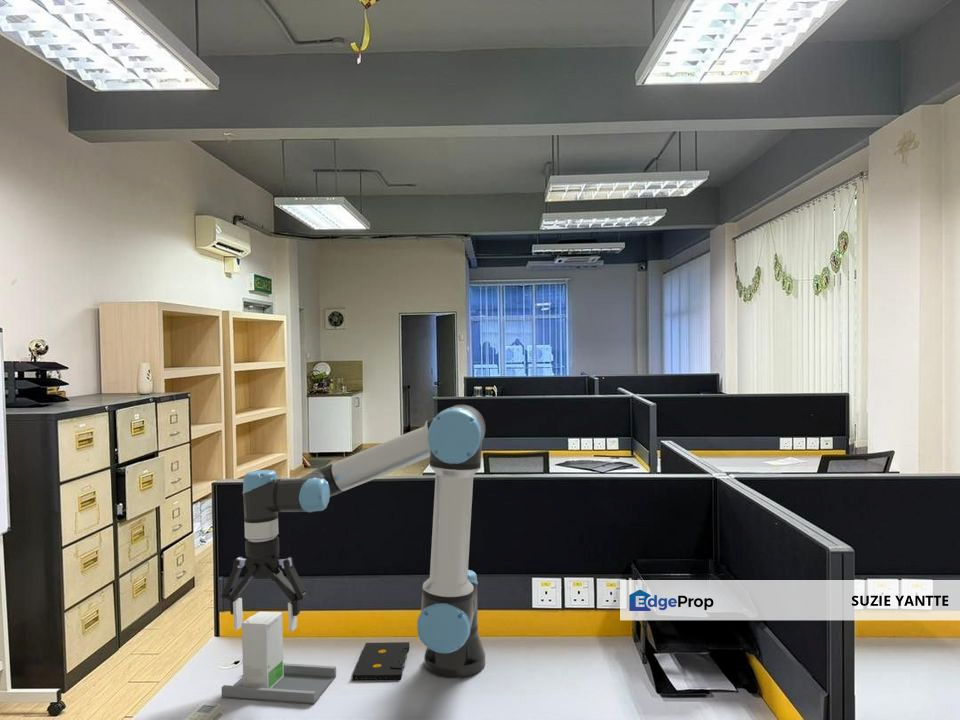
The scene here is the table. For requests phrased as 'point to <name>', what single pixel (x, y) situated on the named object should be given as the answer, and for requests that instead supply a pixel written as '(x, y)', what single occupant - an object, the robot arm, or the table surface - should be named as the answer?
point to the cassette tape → (381, 662)
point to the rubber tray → (288, 685)
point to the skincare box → (262, 650)
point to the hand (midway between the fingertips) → (265, 628)
